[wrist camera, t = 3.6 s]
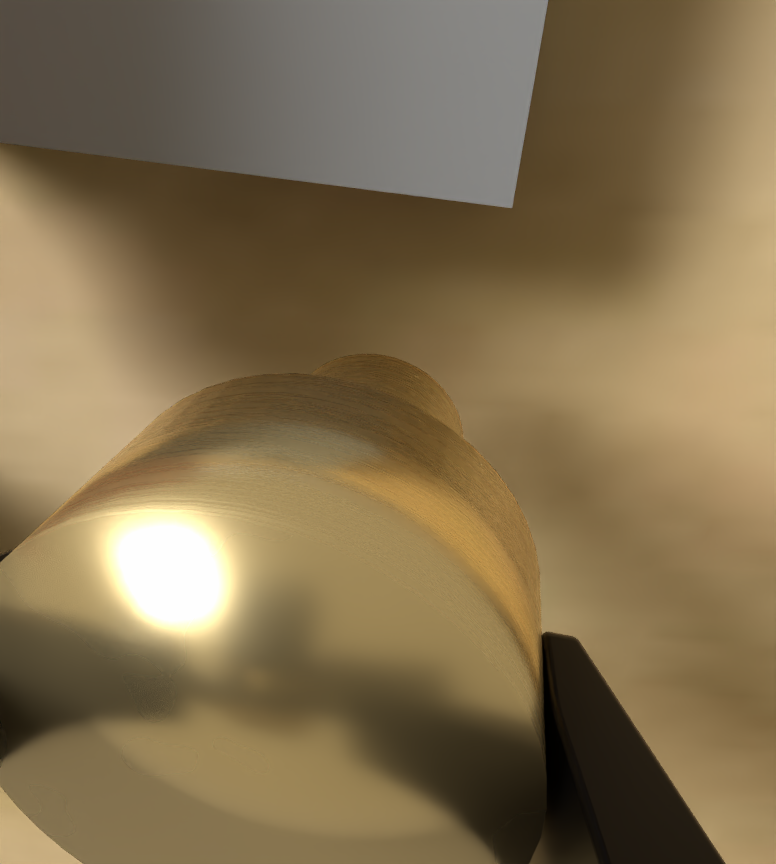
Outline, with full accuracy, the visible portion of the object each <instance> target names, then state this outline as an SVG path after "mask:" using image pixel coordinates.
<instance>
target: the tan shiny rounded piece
mask: <svg viewBox="0 0 776 864" xmlns="http://www.w3.org/2000/svg"><path fill="white" fill-rule="evenodd" d="M0 786H1V787H2V789H3V790H4V791H5V792H6V793H7V795H8V796H9V797H10V798H11V800H12V801H13V802H14V803H15V804H16V806H17V807H18V808H19V809H20V810H21V811H22V812H23V813H24V814H25V815H26V816H27V817H28V818H29V819H30V820H31V821H32V822H33V823H34V824H35V825H36V826H37V827H38V828H39V829H40V830H42V831H43V832H44V833H45V834H46V835H47V836H49V837H50V838H51V839H52V840H53V841H54V842H56V843H57V844H58V845H59V846H60V847H61V848H63V849H64V850H65V851H67V852H68V853H69V854H71V855H72V856H74V857H75V858H76V859H78V860H79V861H80V862H82V863H83V864H529V863H530V861H531V859H532V856H533V854H534V852H535V850H536V848H537V845H538V843H539V841H540V839H541V835H542V830H543V825H544V821H545V816H546V811H547V778H546V748H545V718H544V688H543V658H542V628H541V599H540V572H539V566H538V560H537V554H536V548H535V545H534V542H533V539H532V536H531V533H530V530H529V527H528V524H527V521H526V519H525V517H524V515H523V513H522V511H521V509H520V507H519V505H518V503H517V501H516V500H515V498H514V496H513V494H512V493H511V492H510V490H509V489H508V487H507V486H506V484H505V483H504V482H503V480H502V479H501V477H500V476H499V474H498V473H497V472H496V471H495V469H494V468H493V467H492V466H491V465H490V464H489V463H488V462H487V461H486V460H485V459H484V458H483V457H482V455H481V454H480V453H479V452H478V451H477V450H476V449H475V448H474V447H473V446H471V445H470V444H469V443H468V442H467V441H465V440H464V439H463V430H462V425H461V421H460V418H459V415H458V412H457V410H456V408H455V406H454V404H453V402H452V400H451V399H450V397H449V396H448V395H447V393H446V392H445V390H444V389H443V388H442V387H441V386H440V385H439V384H438V383H437V382H436V381H435V380H434V379H433V378H431V377H430V376H429V375H428V374H427V373H425V372H424V371H422V370H420V369H419V368H417V367H416V366H414V365H412V364H409V363H407V362H405V361H402V360H400V359H397V358H394V357H389V356H385V355H377V354H356V355H350V356H345V357H342V358H338V359H335V360H333V361H331V362H329V363H326V364H324V365H323V366H321V367H320V368H318V369H317V370H315V371H314V372H313V373H312V374H311V375H307V374H296V373H293V374H263V375H257V376H251V377H244V378H238V379H233V380H230V381H227V382H223V383H220V384H217V385H214V386H210V387H207V388H205V389H203V390H201V391H199V392H197V393H195V394H192V395H190V396H188V397H186V398H184V399H182V400H181V401H179V402H178V403H176V404H175V405H173V406H172V407H170V408H169V409H168V410H166V411H165V412H163V413H162V414H160V415H159V416H158V417H157V418H156V419H155V420H154V421H153V422H152V423H151V424H150V425H148V426H147V427H146V428H145V429H144V430H143V431H142V432H141V433H140V434H139V435H138V436H137V437H135V438H134V439H133V440H132V441H131V442H130V443H129V444H128V445H127V446H126V447H125V448H124V449H122V450H121V451H120V452H119V453H118V454H117V455H116V456H115V457H114V458H113V459H112V460H111V461H110V462H108V463H107V464H106V465H105V466H104V467H103V468H102V469H101V470H100V471H99V472H98V473H97V474H95V475H94V476H93V477H92V478H91V479H90V480H89V481H88V482H87V483H86V484H85V485H84V486H82V487H81V488H80V489H79V490H78V491H77V492H76V493H75V494H74V495H73V496H72V497H71V498H69V499H68V500H67V501H66V502H65V503H64V504H63V505H62V506H61V507H60V508H59V509H58V510H56V511H55V512H54V513H53V514H52V515H51V516H50V517H49V518H48V519H47V520H46V521H45V522H43V523H42V524H41V525H40V526H39V527H38V528H37V529H36V530H35V531H34V532H33V533H32V534H30V535H29V536H28V537H27V538H26V539H25V540H24V541H23V542H22V543H21V544H20V545H19V546H17V547H16V548H15V549H14V550H13V551H12V552H11V553H10V554H9V555H8V556H7V557H6V558H4V559H3V560H2V561H1V562H0Z"/></svg>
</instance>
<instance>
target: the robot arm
mask: <svg viewBox="0 0 776 864" xmlns="http://www.w3.org/2000/svg"><path fill="white" fill-rule="evenodd" d="M13 550H14V549H13ZM13 550H11V551H8V552H6V553H4V554H1V555H0V562H1V561H2V560H3V559H4V558H6V557H7V556H8V555H9V554H10V553H11V552H12V551H13ZM542 658H543V688H544V718H545V748H546V778H547V811H546V816H545V821H544V825H543V830H542V835H541V839H540V841H539V843H538V845H537V848H536V850H535V852H534V854H533V856H532V859H531V861H530V863H529V864H726V863H725V862H724V860H723V859H722V857H721V856H720V854H719V853H718V851H717V850H716V848H715V847H714V845H713V844H712V842H711V841H710V839H709V838H708V836H707V835H706V833H705V832H704V830H703V829H702V827H701V825H700V824H699V822H698V821H697V819H696V818H695V816H694V815H693V813H692V812H691V810H690V809H689V807H688V806H687V804H686V803H685V801H684V800H683V798H682V797H681V795H680V794H679V792H678V791H677V789H676V787H675V786H674V784H673V783H672V781H671V780H670V778H669V777H668V775H667V774H666V772H665V771H664V769H663V768H662V766H661V765H660V763H659V762H658V760H657V759H656V757H655V756H654V754H653V753H652V751H651V749H650V748H649V746H648V745H647V743H646V742H645V740H644V739H643V737H642V736H641V734H640V733H639V731H638V730H637V728H636V727H635V725H634V724H633V722H632V721H631V719H630V718H629V716H628V715H627V713H626V711H625V710H624V708H623V707H622V705H621V704H620V702H619V701H618V699H617V698H616V696H615V695H614V693H613V692H612V690H611V689H610V687H609V686H608V684H607V683H606V681H605V680H604V678H603V677H602V675H601V673H600V672H599V670H598V669H597V667H596V666H595V664H594V663H593V661H592V660H591V658H590V657H589V655H588V654H587V652H586V651H585V649H584V648H583V646H582V645H581V643H580V642H579V640H577V639H576V638H575V637H573V636H568V635H563V634H558V633H553V632H545V633H543V634H542Z"/></svg>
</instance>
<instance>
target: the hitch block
mask: <svg viewBox="0 0 776 864" xmlns="http://www.w3.org/2000/svg"><path fill="white" fill-rule="evenodd" d="M547 5H548V0H0V143H7V144H15V145H22V146H30V147H38V148H46V149H54V150H61V151H69V152H77V153H85V154H93V155H100V156H108V157H116V158H124V159H132V160H140V161H147V162H155V163H163V164H171V165H179V166H186V167H194V168H202V169H210V170H218V171H225V172H233V173H241V174H249V175H257V176H264V177H272V178H280V179H288V180H296V181H304V182H311V183H319V184H327V185H335V186H343V187H350V188H358V189H366V190H374V191H382V192H389V193H397V194H405V195H413V196H421V197H428V198H436V199H444V200H452V201H460V202H467V203H475V204H483V205H491V206H499V207H507V208H512V206H513V200H514V195H515V189H516V183H517V177H518V172H519V166H520V160H521V154H522V149H523V143H524V137H525V131H526V126H527V120H528V114H529V108H530V103H531V97H532V91H533V85H534V80H535V74H536V68H537V62H538V57H539V51H540V45H541V39H542V34H543V28H544V22H545V16H546V11H547Z"/></svg>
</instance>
